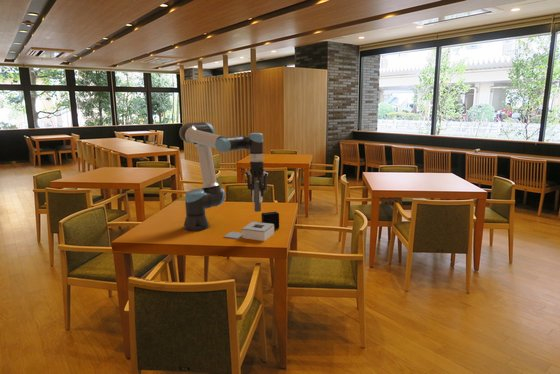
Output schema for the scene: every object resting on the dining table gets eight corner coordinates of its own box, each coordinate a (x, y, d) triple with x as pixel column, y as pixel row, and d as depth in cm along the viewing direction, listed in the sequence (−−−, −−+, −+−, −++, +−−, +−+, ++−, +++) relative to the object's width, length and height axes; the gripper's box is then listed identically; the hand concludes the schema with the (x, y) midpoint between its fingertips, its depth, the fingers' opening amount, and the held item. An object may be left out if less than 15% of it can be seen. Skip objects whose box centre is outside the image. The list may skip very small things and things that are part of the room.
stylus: (253, 211, 219) (252, 182, 216) (256, 209, 223) (255, 180, 219) (259, 211, 218) (258, 182, 214) (261, 210, 221) (261, 181, 218)
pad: (224, 237, 221) (223, 236, 221) (231, 232, 229) (231, 231, 229) (237, 239, 218) (237, 238, 218) (245, 234, 226) (245, 233, 226)
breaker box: (242, 238, 220) (242, 228, 218) (252, 230, 232) (252, 221, 231) (264, 241, 215) (264, 231, 213) (274, 233, 227) (274, 223, 226)
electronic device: (261, 228, 236) (261, 213, 234) (276, 226, 239) (276, 211, 237) (263, 230, 232) (263, 214, 230) (279, 228, 236) (279, 213, 233)
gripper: (240, 161, 214) (241, 201, 219) (267, 162, 208) (268, 204, 213) (246, 159, 221) (247, 198, 225) (273, 160, 215) (273, 201, 220)
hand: (257, 201), depth 219 cm, fingers closed on stylus, 3 cm apart
